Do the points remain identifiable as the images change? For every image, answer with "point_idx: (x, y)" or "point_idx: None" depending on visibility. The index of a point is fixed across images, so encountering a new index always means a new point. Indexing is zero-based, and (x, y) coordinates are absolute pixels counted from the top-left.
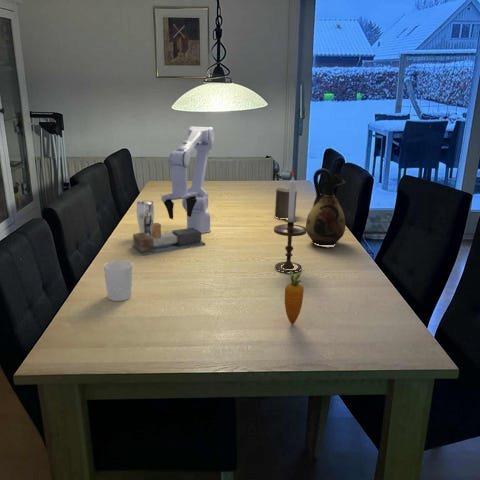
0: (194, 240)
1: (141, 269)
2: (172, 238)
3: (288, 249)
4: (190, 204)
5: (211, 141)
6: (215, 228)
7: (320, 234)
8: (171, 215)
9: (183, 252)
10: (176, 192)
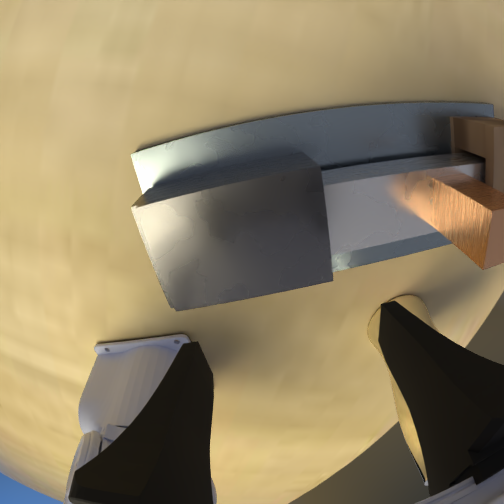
0: (193, 178)
1: None
2: (357, 175)
3: None
4: (170, 455)
5: None
6: (82, 372)
7: None
8: (417, 317)
9: (300, 50)
10: None
